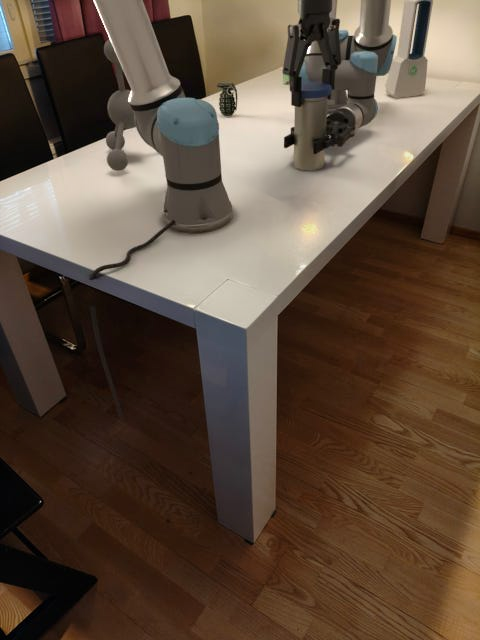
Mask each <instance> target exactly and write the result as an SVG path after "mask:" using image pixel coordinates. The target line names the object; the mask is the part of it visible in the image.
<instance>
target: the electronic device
mask: <svg viewBox="0 0 480 640" xmlns="http://www.w3.org/2000/svg"><path fill="white" fill-rule="evenodd" d="M433 4H434V0H403V7H402V14H401V15H402V16H401V23H400V31H399V37H398V45H397V53H396V55H395V56H394V57H393V60H392V63H391V67H390V70H389V72H388V73H387V78H386V82H385V87H384V88H385V92H386V93H387V95H389V96H390V97H393V98H395V99H401V98H410V97H417V96H422V95H423V94H424V93H425V92H426V84H427V74H428V73H427V72H428V61H429V60H428V59H427V57H426V56H425V53H426V47H427V42H428V34H429V29H430V23H431V17H432V10H433V6H434V5H433Z"/></svg>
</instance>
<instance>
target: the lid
mask: <svg viewBox="0 0 480 640" xmlns="http://www.w3.org/2000/svg"><path fill="white" fill-rule="evenodd" d="M330 93H331V85H330V84H327V83H322V82H305V83H302V86H301V98H308V99H311V98H322V97H326V96H328V95H330Z"/></svg>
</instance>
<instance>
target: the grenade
mask: <svg viewBox="0 0 480 640" xmlns="http://www.w3.org/2000/svg"><path fill="white" fill-rule="evenodd" d="M215 87H217V88H219V89H221V93H219V97H218V101H219V102H218V106H219V108H218V109H219V112H220V114H221V115H222V116H224V117H231V116H233V115H234V113H235V112H236V111H237V108H238V89H237V87H236V85H235V84H234V83H233V82H218V83H217V84H216V86H215ZM232 91H233V92H232ZM234 94H235V96H234Z"/></svg>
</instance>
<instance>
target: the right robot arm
mask: <svg viewBox="0 0 480 640" xmlns="http://www.w3.org/2000/svg"><path fill="white" fill-rule="evenodd" d="M391 4H392V0H360V10H359V11H360V12H359V25H358V27H357V28H356V29H355V30H354V33H353V35H350V33H349V30H347V29H339V39H340V51H341V64H340V65H338V68H337V70H334V79H333V83H332V88H331V99H329V100H328V106H327V123H326V136H325V137H323V138H321V139H320V140H318V141H316V142H314V151H313V154H317V153H319V152H321V151H322V150H324V149H325V150H326V149H328V148H330V147H335V146H337V147H338V148H342V147H343V146H344V145H345V144H346V143H347V142H348V141H349V140H350V139H351V138H355V136H356V131H357V130H359V129H361V128H362V127H364V126H367V125H369V124H370V123H372V121H374V119H376V117H377V115H378V112H379V104H378V101H377V100H376V99H375V93H376V92H375V91H376V83H377V77H384V76H386V75H388V74H389V70H390V67H391V63H392V60H393V59H394V55H395V54H394V53H395V50H396V46H397V40H398V37H397V35H396V34H394V31H393V28H392V27H391V26H390V16H391V15H390V14H391ZM337 9H338V0H333V1H332V11H331V12H330V13H329V16H330V18H336V19H337V11H338V10H337ZM327 32H328V29H327ZM323 69H327V68H326V67H325V64H324V61H323V58H322V54H321V51H320V48H319V45H318V42H316V41H314V42H312V44H311V46H310V47H309V48H308V51H307V54H306V57H305V60H304V62H303V65H302V68H301V71H300V74H299V77H302V83H305V82H322V70H323ZM292 146H294V126H292V127H290V133H289V134H287V135H285V136H284V137H283V148H284V149H288V148H290V147H292Z"/></svg>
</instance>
